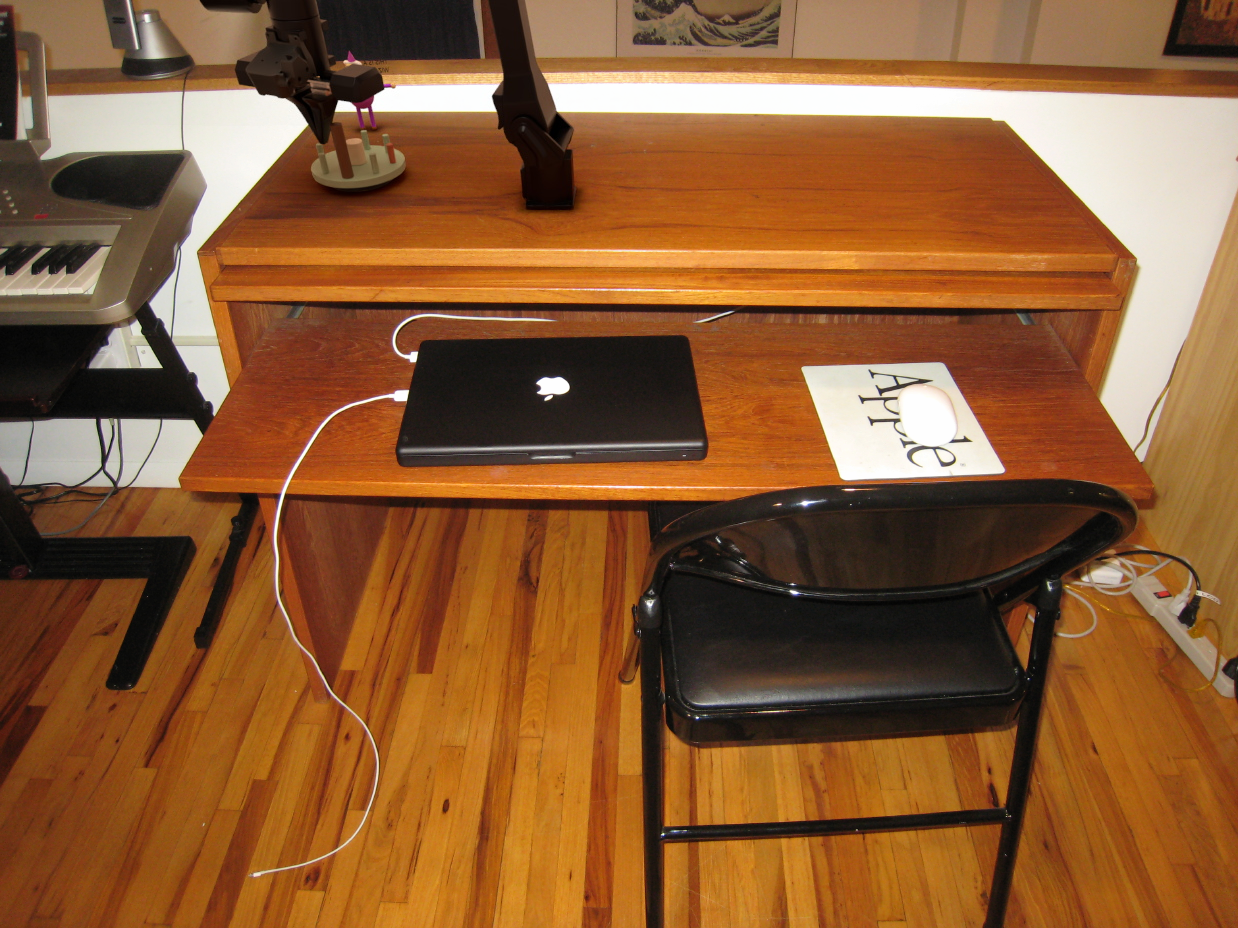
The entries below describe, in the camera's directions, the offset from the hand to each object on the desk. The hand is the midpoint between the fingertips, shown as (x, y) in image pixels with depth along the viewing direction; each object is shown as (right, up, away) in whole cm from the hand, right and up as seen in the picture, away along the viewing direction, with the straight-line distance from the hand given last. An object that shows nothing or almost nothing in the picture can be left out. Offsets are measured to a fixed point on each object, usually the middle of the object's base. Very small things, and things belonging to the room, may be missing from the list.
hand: (324, 143), depth 110 cm
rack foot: (+3, -2, +8) cm, 8 cm away
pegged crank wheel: (+3, -1, +7) cm, 7 cm away
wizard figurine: (-1, +10, +22) cm, 24 cm away
